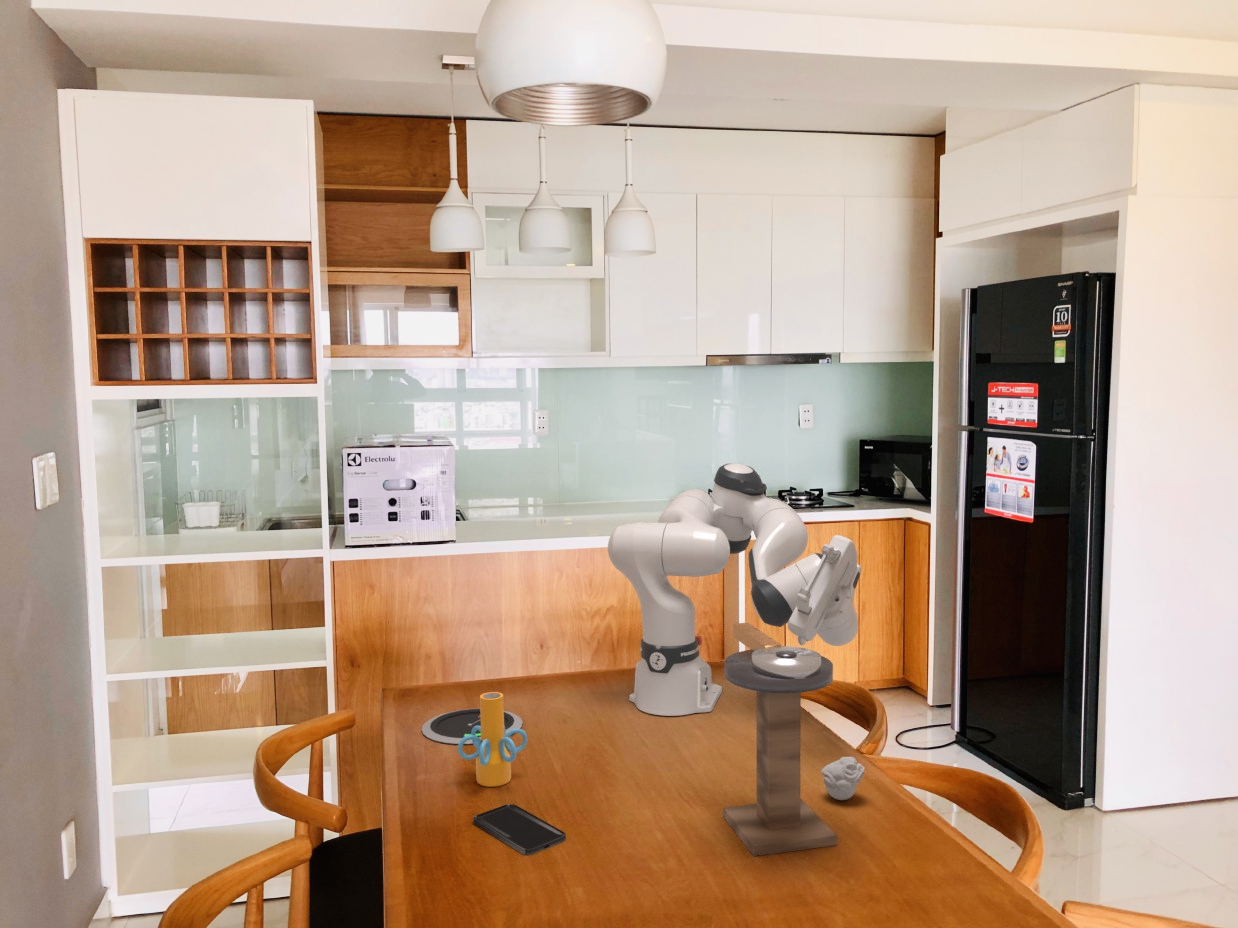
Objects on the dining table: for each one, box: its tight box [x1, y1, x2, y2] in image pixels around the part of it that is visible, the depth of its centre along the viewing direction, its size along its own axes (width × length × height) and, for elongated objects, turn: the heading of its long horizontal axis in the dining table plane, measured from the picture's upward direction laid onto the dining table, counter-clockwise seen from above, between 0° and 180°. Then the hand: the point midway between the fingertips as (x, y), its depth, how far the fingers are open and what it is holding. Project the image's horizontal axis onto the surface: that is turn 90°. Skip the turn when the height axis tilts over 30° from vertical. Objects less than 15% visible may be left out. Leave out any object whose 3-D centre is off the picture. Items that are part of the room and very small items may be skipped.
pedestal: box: [722, 649, 838, 857], centre depth 144 cm, size 16×16×26 cm
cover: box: [732, 622, 822, 679], centre depth 146 cm, size 24×10×2 cm, turn 13°
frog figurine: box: [820, 756, 866, 801], centre depth 155 cm, size 6×7×7 cm
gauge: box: [421, 708, 524, 746], centre depth 191 cm, size 20×20×1 cm
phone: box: [472, 803, 567, 856], centre depth 146 cm, size 8×1×15 cm
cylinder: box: [457, 691, 528, 788], centre depth 164 cm, size 12×10×15 cm
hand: (815, 570), depth 168 cm, fingers open, 8 cm apart
